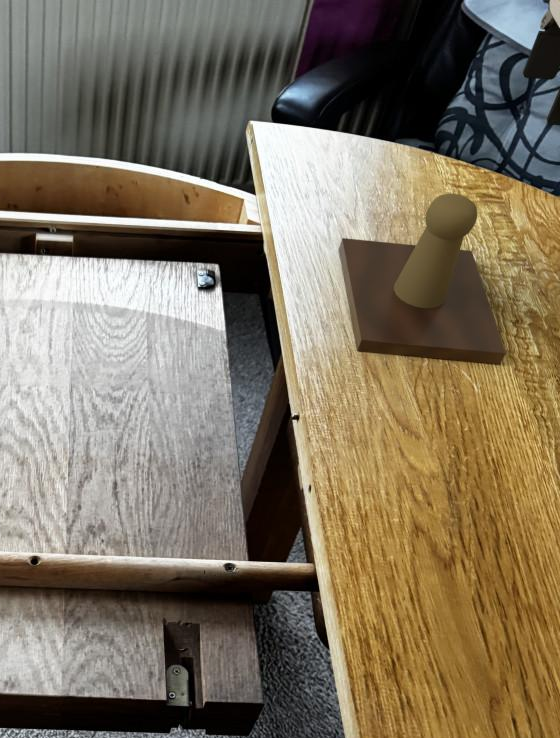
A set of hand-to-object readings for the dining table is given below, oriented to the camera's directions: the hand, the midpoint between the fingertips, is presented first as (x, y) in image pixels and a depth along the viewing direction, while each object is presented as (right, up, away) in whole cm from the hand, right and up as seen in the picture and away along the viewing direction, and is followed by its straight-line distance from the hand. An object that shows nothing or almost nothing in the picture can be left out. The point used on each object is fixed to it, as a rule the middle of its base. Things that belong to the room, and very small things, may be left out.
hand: (550, 100), depth 90 cm
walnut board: (-6, -13, +19) cm, 24 cm away
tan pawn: (-6, -12, +18) cm, 22 cm away
